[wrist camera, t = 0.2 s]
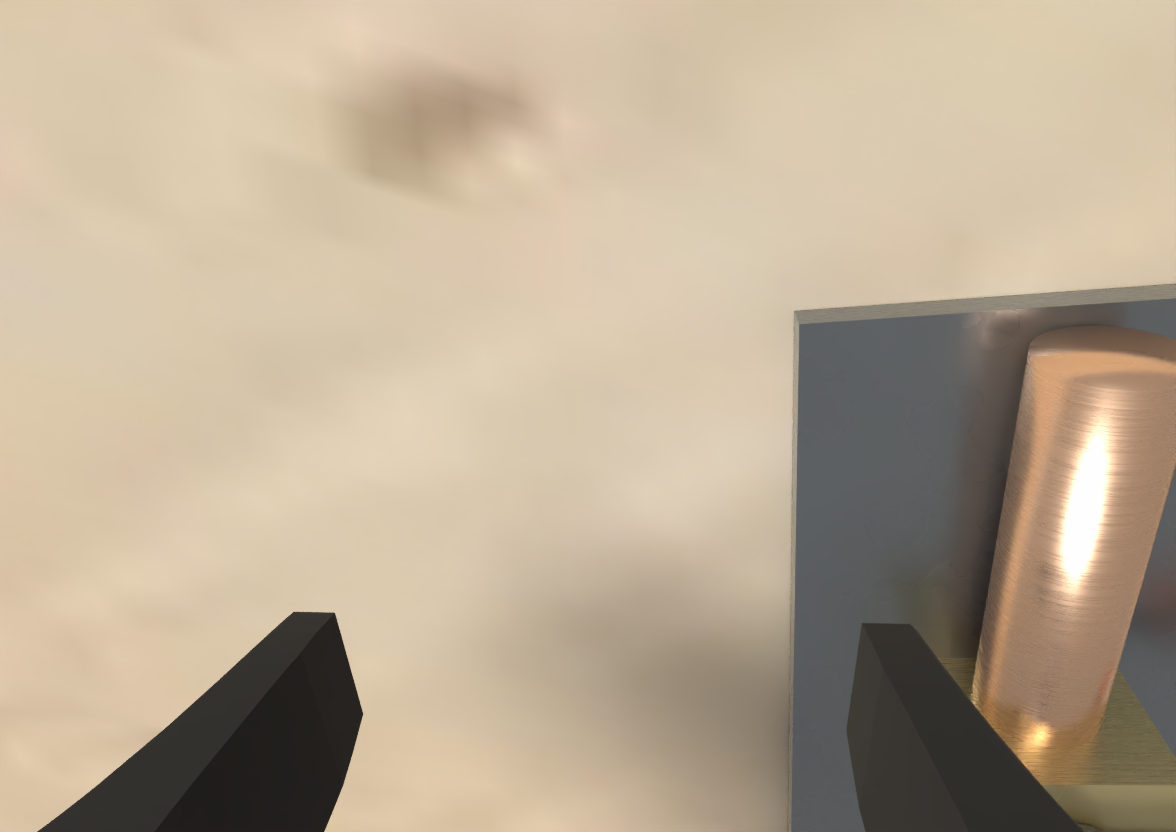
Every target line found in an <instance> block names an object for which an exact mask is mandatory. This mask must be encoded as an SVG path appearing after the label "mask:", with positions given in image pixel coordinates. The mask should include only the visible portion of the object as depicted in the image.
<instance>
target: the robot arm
mask: <svg viewBox="0 0 1176 832" xmlns="http://www.w3.org/2000/svg"><path fill="white" fill-rule="evenodd" d="M362 716H363V712H362V708H361V705H360V701H359V698H358V694H357V690H356V687H355V683H354V680H353V676H352V673H351V669H350V665H349V662H348V658H347V655H346V651H345V648H344V644H343V640H342V637H341V633H340V630H339V626H338V623H337V619H336V615H335V613H322V612H293V613H292V614H291V615H290V616H288V617H287V618H286V619H285V620H284V621H283V622H282V623H280V624H279V625H278V626H277V627H276V628H275V629H274V630H273V631H272V632H271V633H269V634H268V635H267V636H266V637H265V638H264V639H263V640H262V641H261V642H260V643H259V644H258V645H256V646H255V647H254V648H253V649H252V650H251V651H250V652H249V653H248V654H247V655H246V656H245V657H243V658H242V659H241V660H240V661H239V662H238V663H237V664H236V665H235V666H234V667H233V668H232V669H231V670H229V671H228V672H227V673H226V674H225V675H224V676H223V677H222V678H221V679H220V680H219V681H217V682H216V683H215V684H214V685H213V686H212V687H211V688H210V689H209V690H208V691H206V692H205V693H204V694H203V695H202V696H201V697H200V698H199V699H198V700H196V701H195V702H194V703H193V704H192V705H191V706H190V707H189V708H188V709H186V710H185V711H184V712H183V713H182V714H181V715H180V716H179V717H178V718H176V719H175V720H174V721H173V722H172V723H171V724H170V725H169V726H167V727H166V728H165V729H164V730H163V731H162V732H161V733H159V734H158V735H157V736H156V737H155V738H153V739H152V740H151V741H150V742H149V743H147V744H146V745H145V746H144V747H143V748H141V749H140V750H139V751H138V752H137V753H135V754H134V755H133V756H132V757H131V758H129V759H128V760H127V761H126V762H125V763H123V764H122V765H121V766H120V767H119V768H117V769H116V770H115V771H114V772H113V773H112V774H110V775H109V776H108V777H107V778H106V779H104V780H103V781H102V782H101V783H100V784H98V785H97V786H96V787H95V788H94V789H92V790H91V791H90V792H89V793H87V794H86V795H85V796H84V797H82V798H81V799H80V800H78V801H77V802H76V803H75V804H73V805H72V806H71V807H69V808H68V809H67V810H66V811H64V812H63V813H62V814H60V815H59V816H58V817H56V818H55V819H54V820H53V821H51V822H50V823H49V824H47V825H46V826H45V827H43V828H42V829H40V830H39V831H38V832H324V831H325V828H326V826H327V824H328V821H329V819H330V816H331V814H332V812H333V809H334V807H335V804H336V802H337V799H338V797H339V794H340V792H341V789H342V787H343V784H344V780H345V777H346V774H347V770H348V767H349V764H350V760H351V757H352V753H353V750H354V746H355V742H356V739H357V735H358V731H359V727H360V724H361V720H362ZM846 732H847V738H848V744H849V751H850V757H851V763H852V770H853V776H854V781H855V787H856V793H857V799H858V805H859V809H860V813H861V817H862V821H863V824H864V828H865V832H1084V831H1083V830H1082V829H1081V828H1080V826H1079V825H1078V824H1077V823H1076V822H1075V821H1074V820H1073V819H1072V818H1071V817H1070V816H1069V815H1068V814H1067V813H1066V812H1065V810H1064V809H1063V808H1062V807H1061V806H1060V805H1059V804H1058V803H1057V802H1056V801H1055V799H1054V798H1053V797H1052V796H1051V795H1050V794H1049V793H1048V792H1047V791H1046V789H1045V788H1044V787H1043V786H1042V785H1041V784H1040V783H1039V782H1038V780H1037V779H1036V778H1035V777H1034V776H1033V775H1032V774H1031V772H1030V771H1029V770H1028V769H1027V768H1026V767H1025V765H1024V764H1023V763H1022V762H1021V761H1020V760H1019V758H1018V757H1017V756H1016V755H1015V754H1014V752H1013V751H1012V750H1011V749H1010V748H1009V747H1008V745H1007V744H1006V743H1005V742H1004V741H1003V740H1002V738H1001V737H1000V736H999V735H998V734H997V733H996V731H995V730H994V729H993V728H992V726H991V725H990V724H989V723H988V722H987V720H986V719H985V718H984V717H983V715H982V714H981V713H980V712H979V711H978V709H977V708H976V707H975V705H974V704H973V703H972V702H971V700H970V699H969V698H968V697H967V695H966V694H965V693H964V692H963V690H962V689H961V688H960V687H959V685H958V684H957V683H956V681H955V680H954V679H953V678H952V676H951V675H950V674H949V672H948V671H947V670H946V668H945V667H944V666H943V665H942V663H941V662H940V661H939V659H938V658H937V657H936V655H935V654H934V653H933V651H932V650H931V649H930V647H929V646H928V645H927V643H926V642H925V641H924V639H923V638H922V637H921V635H920V634H919V633H918V631H917V630H916V629H915V628H914V627H913V626H912V625H911V624H888V623H862V625H861V632H860V639H859V646H858V653H857V660H856V667H855V673H854V680H853V687H852V694H851V701H850V708H849V715H848V721H847V728H846Z"/></svg>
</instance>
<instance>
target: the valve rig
mask: <svg viewBox="0 0 1176 832" xmlns="http://www.w3.org/2000/svg"><path fill="white" fill-rule="evenodd" d="M862 623H888V624H911V625H912V626H913V627H914V628H915V629H916V630H917V631H918V633H919V634H920V635H921V637H922V638H923V639H924V641H925V642H926V643H927V645H928V646H929V647H930V649H931V650H932V651H933V653H934V654H935V655H936V657H937V658H938V659H939V661H940V662H941V663H942V665H943V666H944V667H945V668H946V670H947V671H948V672H949V674H950V675H951V676H952V678H953V679H954V680H955V681H956V683H957V684H958V685H959V687H960V688H961V689H962V690H963V692H964V693H965V694H966V695H967V697H968V698H969V699H970V700H971V702H972V703H973V704H974V705H975V707H976V708H977V709H978V711H979V712H980V713H981V714H982V715H983V717H984V718H985V719H986V720H987V722H988V723H989V724H990V725H991V726H992V728H993V729H994V730H995V731H996V733H997V734H998V735H999V736H1000V737H1001V738H1002V740H1003V741H1004V742H1005V743H1006V744H1007V745H1008V747H1009V748H1010V749H1011V750H1012V751H1013V752H1014V754H1015V755H1016V756H1017V757H1018V758H1019V760H1020V761H1021V762H1022V763H1023V764H1024V765H1025V767H1026V768H1027V769H1028V770H1029V771H1030V772H1031V774H1032V775H1033V776H1034V777H1035V778H1036V779H1037V780H1038V782H1039V783H1040V784H1041V785H1042V786H1043V787H1044V788H1045V789H1046V791H1047V792H1048V793H1049V794H1050V795H1051V796H1052V797H1053V798H1054V799H1055V801H1056V802H1057V803H1058V804H1059V805H1060V806H1061V807H1062V808H1063V809H1064V810H1065V812H1066V813H1067V814H1068V815H1069V816H1070V817H1071V818H1072V819H1073V820H1074V821H1075V822H1076V823H1077V824H1082V825H1087V826H1091V827H1094V828H1097V829H1099V830H1101V831H1102V832H1176V284H1167V285H1153V286H1139V287H1125V288H1111V289H1097V290H1083V291H1069V292H1055V293H1041V294H1027V295H1013V296H999V297H985V298H971V299H956V300H942V301H928V302H914V303H900V304H886V305H872V306H858V307H844V308H830V309H816V310H802V311H794V373H793V452H792V532H791V611H790V691H789V770H788V832H865V828H864V824H863V821H862V817H861V813H860V809H859V805H858V799H857V793H856V787H855V781H854V776H853V770H852V763H851V757H850V751H849V744H848V738H847V732H846V728H847V721H848V715H849V708H850V701H851V694H852V687H853V680H854V673H855V667H856V660H857V653H858V646H859V639H860V632H861V625H862Z"/></svg>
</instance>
